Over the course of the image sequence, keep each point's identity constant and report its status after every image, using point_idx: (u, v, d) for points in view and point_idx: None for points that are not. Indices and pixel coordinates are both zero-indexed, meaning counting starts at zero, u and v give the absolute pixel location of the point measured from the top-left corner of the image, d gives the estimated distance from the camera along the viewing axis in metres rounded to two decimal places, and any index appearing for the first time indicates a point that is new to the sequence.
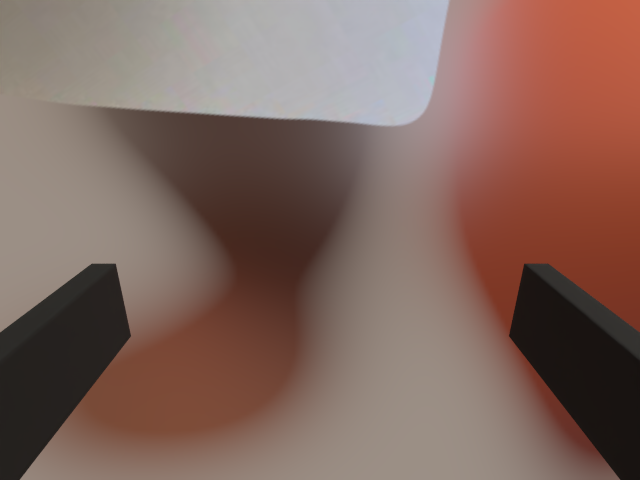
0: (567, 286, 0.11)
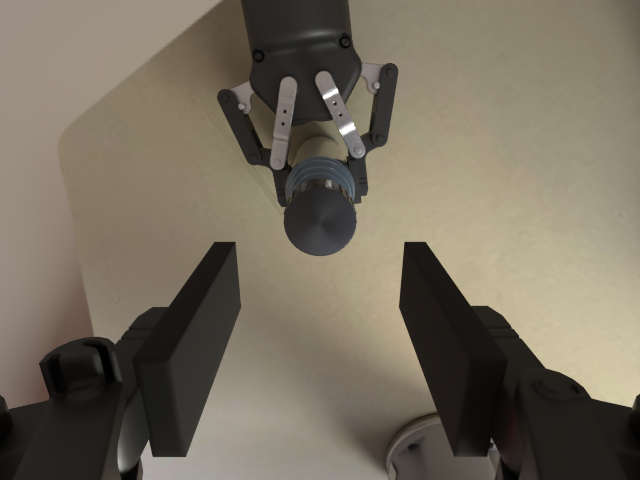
0: (428, 258, 0.12)
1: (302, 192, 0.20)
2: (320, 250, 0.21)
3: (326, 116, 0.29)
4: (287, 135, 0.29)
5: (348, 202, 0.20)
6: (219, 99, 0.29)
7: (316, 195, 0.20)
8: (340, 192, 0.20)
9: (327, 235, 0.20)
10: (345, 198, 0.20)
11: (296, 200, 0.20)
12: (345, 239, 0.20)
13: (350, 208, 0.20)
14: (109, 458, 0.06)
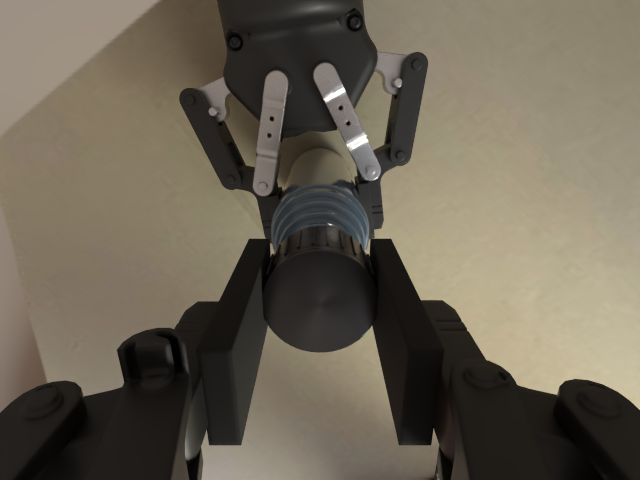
0: (389, 255, 0.13)
1: (291, 257, 0.12)
2: (320, 344, 0.13)
3: (328, 125, 0.21)
4: (275, 151, 0.21)
5: (366, 273, 0.12)
6: (182, 102, 0.21)
7: (314, 262, 0.12)
8: (353, 256, 0.12)
9: (332, 322, 0.13)
10: (362, 267, 0.12)
11: (281, 270, 0.12)
12: (361, 328, 0.13)
13: (369, 282, 0.12)
14: (179, 447, 0.06)
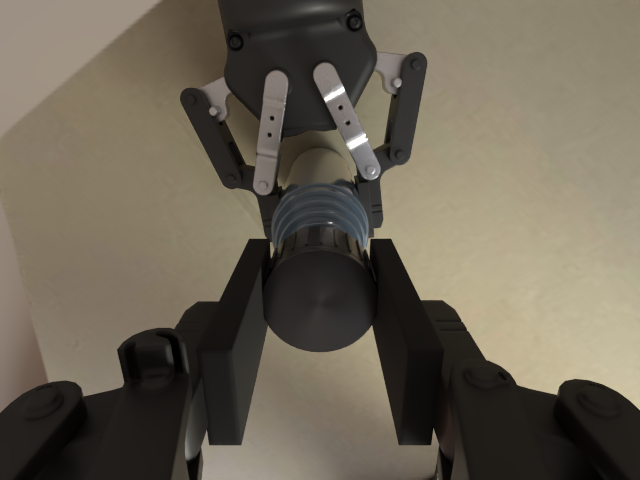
0: (389, 255, 0.13)
1: (305, 348, 0.13)
2: (354, 272, 0.12)
3: (328, 124, 0.22)
4: (275, 150, 0.21)
5: (263, 297, 0.12)
6: (183, 101, 0.21)
7: (293, 334, 0.13)
8: None
9: (326, 282, 0.12)
10: (263, 303, 0.12)
11: (320, 348, 0.13)
12: (309, 258, 0.12)
13: (267, 289, 0.12)
14: (179, 448, 0.06)
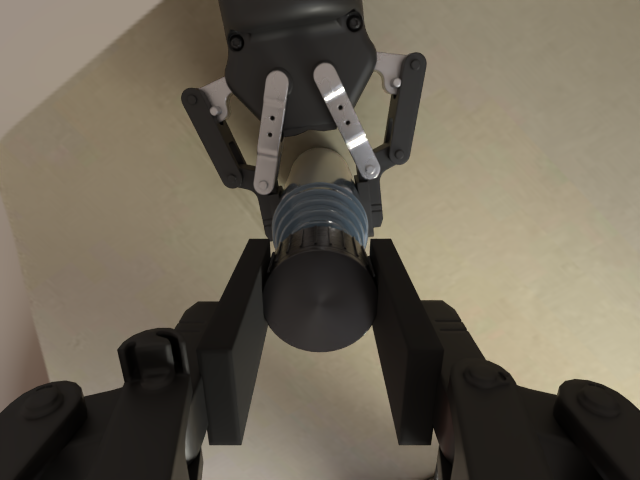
0: (389, 255, 0.13)
1: (370, 277, 0.12)
2: (271, 305, 0.12)
3: (328, 124, 0.22)
4: (276, 150, 0.22)
5: (353, 341, 0.13)
6: (184, 101, 0.21)
7: (365, 298, 0.12)
8: None
9: (298, 314, 0.12)
10: (359, 336, 0.13)
11: (358, 269, 0.12)
12: (293, 339, 0.13)
13: (344, 344, 0.13)
14: (179, 448, 0.06)
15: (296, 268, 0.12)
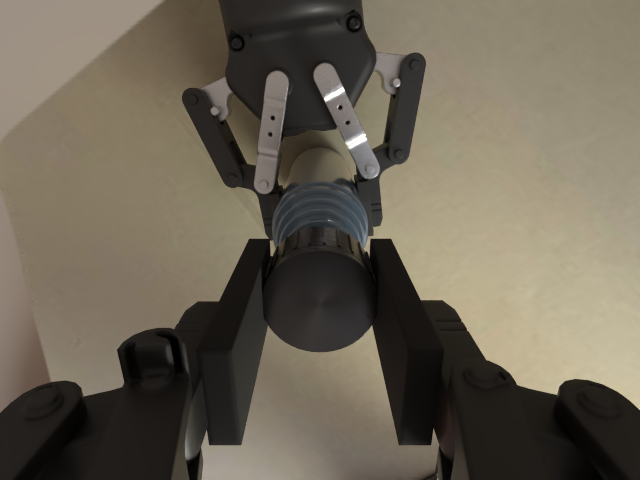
0: (389, 255, 0.13)
1: (264, 290, 0.12)
2: (354, 332, 0.13)
3: (328, 124, 0.22)
4: (276, 149, 0.22)
5: (326, 252, 0.12)
6: (185, 101, 0.21)
7: (282, 279, 0.12)
8: (306, 248, 0.12)
9: (344, 309, 0.12)
10: (318, 250, 0.12)
11: (267, 305, 0.12)
12: (370, 294, 0.12)
13: (336, 256, 0.12)
14: (179, 447, 0.06)
15: (309, 340, 0.13)
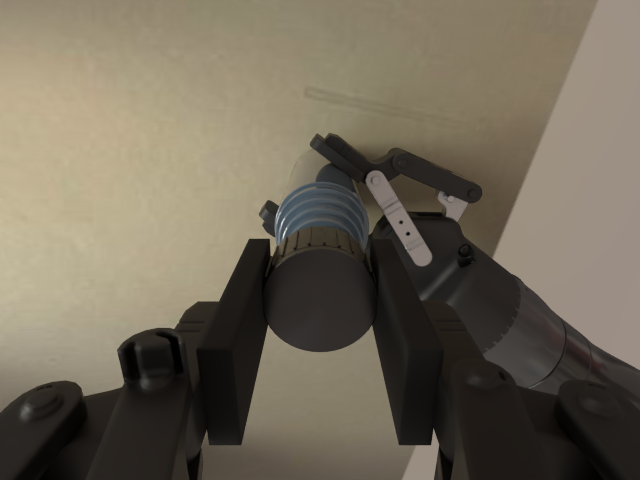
0: (389, 255, 0.13)
1: (264, 290, 0.12)
2: (354, 331, 0.13)
3: None
4: (388, 216, 0.23)
5: (326, 251, 0.12)
6: (477, 187, 0.23)
7: (282, 279, 0.12)
8: (306, 248, 0.12)
9: (344, 309, 0.12)
10: (318, 250, 0.12)
11: (267, 305, 0.12)
12: (370, 294, 0.12)
13: (336, 256, 0.12)
14: (178, 448, 0.06)
15: (309, 340, 0.13)
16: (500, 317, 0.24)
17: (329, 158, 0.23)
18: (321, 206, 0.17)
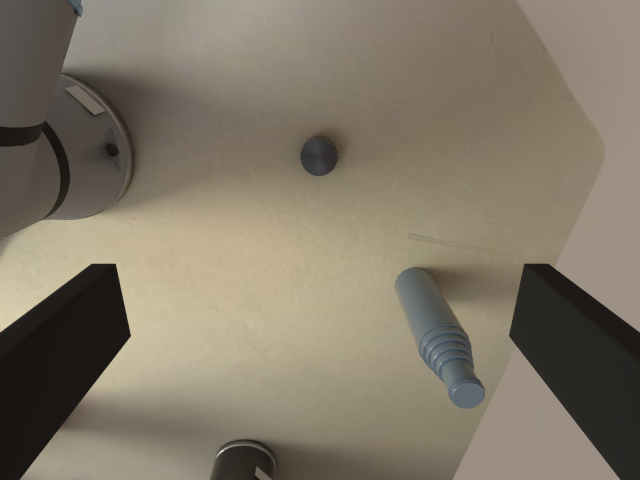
0: (567, 286, 0.11)
1: (301, 153, 0.40)
2: (329, 167, 0.40)
3: None
4: None
5: (320, 139, 0.39)
6: None
7: (307, 149, 0.40)
8: (314, 139, 0.39)
9: (326, 159, 0.40)
10: (318, 139, 0.39)
11: (302, 158, 0.40)
12: (334, 154, 0.40)
13: (323, 141, 0.39)
14: None
15: (315, 171, 0.40)
16: None
17: None
18: (453, 344, 0.34)
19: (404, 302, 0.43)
